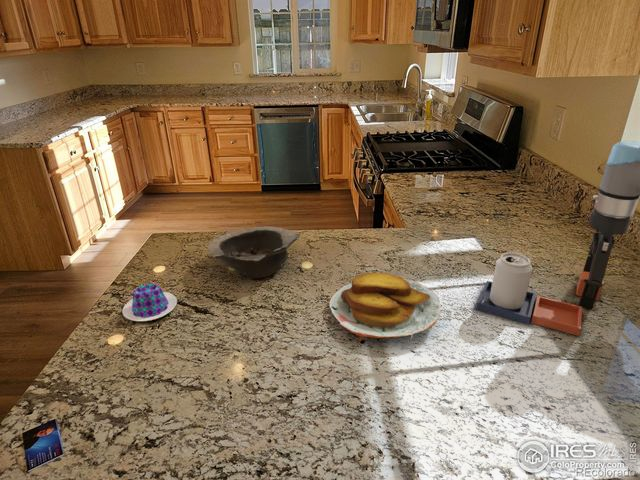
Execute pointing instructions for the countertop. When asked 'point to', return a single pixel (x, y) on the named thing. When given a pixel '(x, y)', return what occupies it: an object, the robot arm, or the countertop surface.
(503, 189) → the countertop surface
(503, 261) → the can
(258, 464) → the countertop surface
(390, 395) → the countertop surface
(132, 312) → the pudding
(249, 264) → the stone bowl
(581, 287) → the block
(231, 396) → the countertop surface
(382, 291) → the food on plate
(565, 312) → the terracotta tray
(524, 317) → the navy tray
